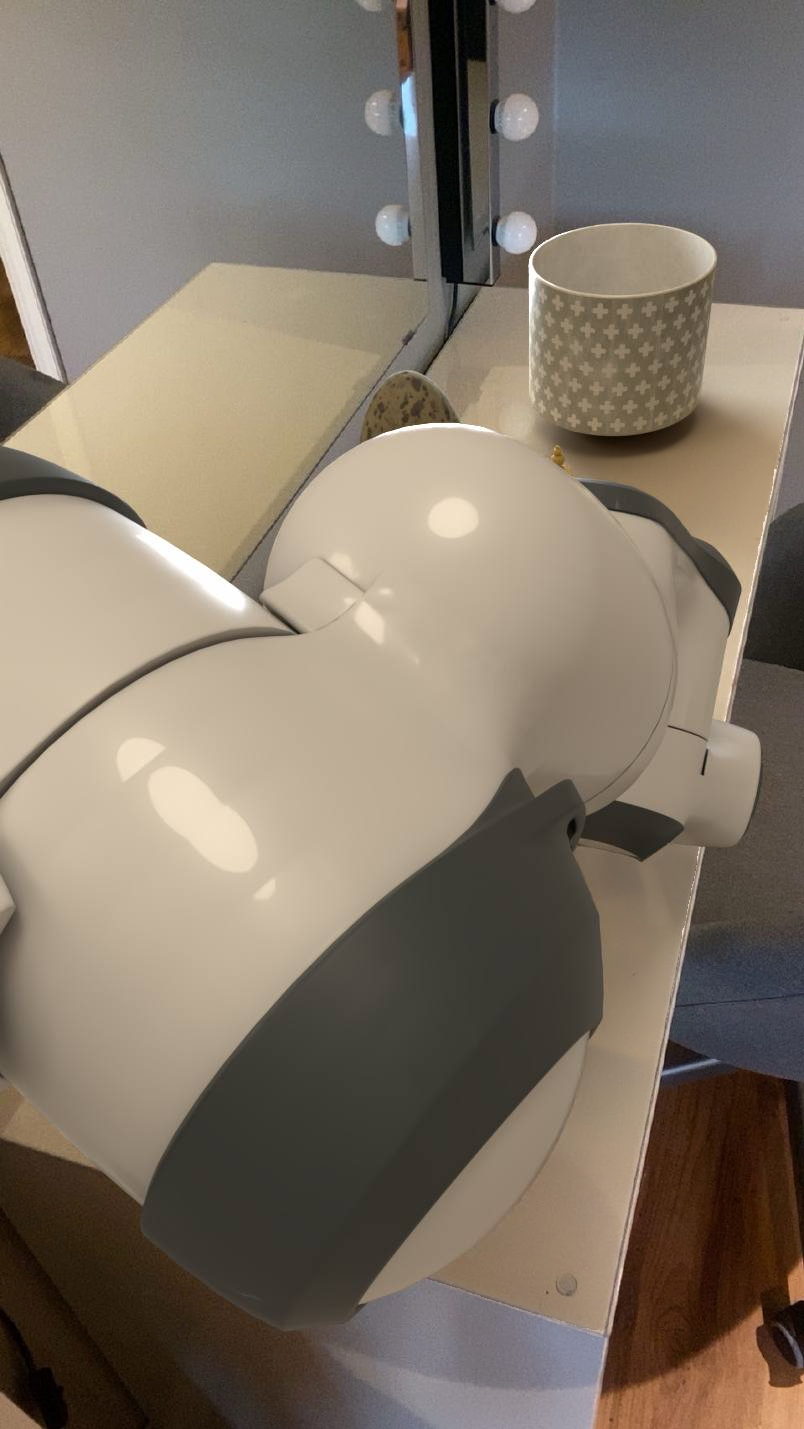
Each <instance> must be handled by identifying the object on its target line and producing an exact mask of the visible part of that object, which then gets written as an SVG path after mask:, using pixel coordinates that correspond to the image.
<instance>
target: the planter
mask: <svg viewBox="0 0 804 1429" xmlns="http://www.w3.org/2000/svg"><path fill="white" fill-rule="evenodd" d="M717 264H718V254H717V251H716V250H715V247H714V246H713V245H712V244H710V242H709V241H707V240H706V239H705V238H703V237H701V236H700V235H697V234H696V233H693V232H691V231H688V230H685V229H681V228H678V227H673V226H668V225H663V224H654V223H646V222H645V223H644V222H643V223H642V222H617V223H616V222H615V223H604V224H595V225H590V226H585V227H579V228H576V229H573V230H570V231H569V230H568V231H566V232H563V233H561V234H558V235H555V236H553V237H551V238H550V239H547V240H545V241H544V242H542V243H541V244H540V245H539V246H538V247H537V248H535V249H534V251H533V252H532V254H531V255H530V258H529V262H528V274H529V275H528V290H529V291H528V298H529V299H528V302H529V303H528V314H529V315H528V323H529V324H528V345H529V346H528V360H529V361H528V365H529V366H528V370H529V372H528V374H529V375H528V382H529V383H528V386H529V387H528V390H529V391H528V393H529V394H528V395H529V401H530V404H531V406H532V408H533V409H534V411H535V412H536V413H537V414H538V415H539V416H540V417H541V418H543V419H544V420H546V421H547V422H548V423H551V424H553V425H554V426H557V427H559V428H562V429H564V430H568V431H571V432H575V433H578V434H585V435H591V436H603V437H623V436H624V437H625V436H635V435H642V434H647V433H651V432H656V431H659V430H662V429H665V428H668V427H670V426H673V425H675V424H677V423H678V422H681V421H682V420H684V419H685V418H687V417H688V416H689V415H691V413H692V412H693V411H694V410H696V407H697V406H698V404H699V402H700V399H701V395H702V394H701V393H702V386H703V378H704V368H705V362H706V353H707V344H708V337H709V330H710V329H709V328H710V320H711V312H712V305H713V304H712V303H713V296H714V288H715V281H716V280H715V279H716V272H717Z"/></svg>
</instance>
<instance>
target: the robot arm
mask: <svg viewBox="0 0 804 1429" xmlns="http://www.w3.org/2000/svg"><path fill="white" fill-rule="evenodd" d="M742 592H743V587H742V583H741V581H740V579H739V578H738V576H737V574H736V572H735V571H734V569H733V567H732V566H731V565H730V563H729V562H728V560H727V559H726V558H725V557H724V555H723V554H722V553H721V552H720V551H719V550H718V549H717V548H716V547H715V546H714V545H712V544H711V543H709V542H707V541H705V540H703V539H700V538H699V537H695V536H694V535H692V534H691V533H690V532H689V531H688V529H687V527H686V526H685V525H684V523H683V522H682V521H681V520H680V518H679V517H678V516H677V515H676V514H675V513H674V512H673V511H672V509H670V508H669V507H668V506H667V505H666V504H664V503H663V502H662V501H661V500H659V499H658V498H657V497H655V496H654V495H652V494H650V493H648V492H646V491H645V490H643V489H641V488H638V487H636V486H633V485H629V484H626V483H621V482H618V481H617V482H616V481H611V480H604V479H597V478H587V477H575V476H573V475H572V476H571V475H570V474H569V473H568V472H566V471H565V470H564V469H562V468H561V467H560V466H558V465H557V464H556V463H554V462H553V461H551V460H550V458H548V457H546V455H544V454H542V453H541V452H539V451H537V450H536V449H534V448H533V447H531V445H528V444H526V443H524V442H522V441H520V440H518V439H517V438H514V437H511V436H510V435H507V434H504V433H501V432H497V431H494V430H492V429H488V428H485V427H483V426H482V427H481V426H478V425H470V424H465V423H464V424H463V423H461V424H458V423H432V424H425V425H417V426H410V427H405V428H401V429H397V430H394V431H390V432H387V433H383V434H381V435H379V436H376V437H374V438H372V439H369V440H367V441H365V442H363V443H361V444H360V443H359V444H358V445H356V446H354V447H353V448H351V449H349V450H347V451H345V452H344V453H343V454H341V455H340V456H339V457H337V458H336V459H335V460H333V461H332V462H331V463H330V464H328V465H327V466H326V467H325V468H323V470H321V472H320V473H318V475H317V476H315V477H314V479H312V481H310V483H309V484H308V485H307V486H306V488H305V489H304V490H303V491H302V493H301V494H300V495H299V496H298V498H297V499H296V500H295V501H294V503H293V504H292V507H290V510H289V511H288V513H287V515H286V516H285V518H284V520H283V522H282V524H281V526H280V527H279V531H278V533H277V535H276V537H275V539H274V541H273V545H272V548H271V551H270V554H269V557H268V561H267V566H266V571H265V576H264V581H263V591H262V592H261V593H260V595H259V597H258V599H259V601H260V602H261V604H262V605H261V604H260V603H258V601H255V600H254V599H253V598H252V597H250V596H249V595H247V594H246V593H245V592H243V591H242V590H240V589H239V588H237V587H236V586H235V585H234V584H232V583H231V582H229V581H227V579H225V578H224V577H223V576H221V575H220V574H218V573H217V572H215V571H214V570H212V569H211V568H209V567H207V565H205V564H203V563H202V562H200V561H198V560H197V559H195V558H194V557H192V556H191V555H189V554H188V553H186V552H184V551H183V550H181V549H179V548H178V547H176V546H175V545H173V544H172V543H171V542H169V541H167V540H165V539H164V538H162V537H160V536H158V535H157V534H155V533H154V532H152V531H150V530H149V528H148V527H147V525H146V524H145V522H144V520H143V519H142V518H141V517H140V515H139V513H137V512H136V510H135V509H134V508H133V507H131V506H130V505H129V504H128V503H127V502H126V501H124V500H123V499H122V498H120V497H119V496H118V495H116V494H115V493H113V492H112V491H109V490H108V489H106V488H103V487H102V486H100V485H99V484H96V483H95V482H93V481H92V480H89V479H88V478H85V477H83V476H82V475H79V474H77V473H75V472H73V471H71V470H69V469H67V468H65V467H63V466H61V465H59V464H56V463H54V462H52V461H49V460H47V459H44V458H42V457H39V456H36V455H33V454H31V453H29V452H26V451H23V450H20V449H15V448H12V447H7V446H4V445H0V1094H2V1092H4V1091H6V1089H7V1088H9V1087H10V1086H12V1087H13V1088H14V1089H15V1090H16V1091H17V1092H18V1094H20V1095H21V1096H22V1097H23V1099H25V1100H26V1101H27V1102H28V1103H29V1104H30V1105H31V1107H32V1108H33V1109H34V1110H35V1111H37V1112H38V1113H39V1114H40V1115H41V1116H42V1117H43V1119H45V1120H46V1121H47V1122H48V1123H49V1125H51V1126H52V1127H53V1128H55V1129H56V1130H57V1132H58V1133H60V1134H61V1136H63V1137H64V1138H65V1139H66V1140H67V1141H68V1142H69V1143H70V1144H71V1145H72V1146H74V1148H76V1149H77V1150H78V1151H79V1152H80V1153H81V1155H83V1156H84V1157H86V1159H87V1160H88V1161H89V1162H90V1163H92V1164H93V1165H94V1167H96V1168H97V1169H99V1170H100V1171H101V1172H102V1173H103V1174H104V1175H105V1176H107V1177H108V1178H109V1179H110V1180H111V1181H112V1182H113V1183H115V1184H116V1185H117V1186H118V1187H119V1188H120V1189H121V1190H122V1191H124V1192H125V1193H126V1194H127V1195H128V1196H130V1197H131V1198H132V1199H133V1200H134V1201H135V1202H136V1203H138V1204H139V1206H141V1212H140V1219H139V1220H140V1222H139V1225H140V1231H141V1234H142V1235H143V1237H145V1238H146V1239H147V1240H148V1241H149V1242H151V1243H152V1244H153V1246H155V1247H156V1248H158V1250H160V1251H161V1252H162V1253H163V1254H165V1255H166V1256H168V1258H169V1259H171V1261H173V1262H174V1263H175V1264H177V1265H178V1266H179V1267H180V1268H182V1269H183V1270H184V1271H185V1272H187V1273H189V1275H191V1276H192V1277H194V1278H195V1279H196V1280H198V1281H199V1282H201V1283H202V1284H203V1285H205V1286H206V1287H207V1288H209V1289H210V1290H211V1291H212V1292H214V1293H216V1295H218V1296H220V1297H221V1298H223V1299H225V1300H226V1301H228V1302H230V1303H231V1304H233V1305H234V1306H236V1307H237V1308H239V1309H240V1310H242V1311H244V1312H245V1313H247V1314H248V1315H250V1316H252V1317H254V1318H256V1319H258V1320H259V1321H262V1322H264V1323H266V1324H268V1325H270V1326H272V1327H274V1328H276V1329H278V1330H281V1331H282V1332H285V1333H286V1332H292V1331H301V1330H308V1329H316V1328H322V1327H323V1328H324V1327H329V1326H336V1325H344V1324H345V1323H348V1322H349V1321H351V1320H352V1319H353V1318H354V1317H355V1316H356V1315H357V1314H359V1313H360V1312H361V1310H363V1309H364V1308H365V1307H366V1306H367V1305H368V1304H369V1302H373V1301H375V1300H378V1299H382V1298H384V1297H387V1296H390V1295H393V1294H396V1293H399V1292H401V1291H404V1290H405V1289H408V1288H409V1287H410V1288H411V1287H412V1286H413V1285H416V1284H418V1283H420V1282H421V1281H424V1280H426V1279H428V1278H430V1277H432V1276H434V1275H436V1274H437V1273H439V1272H440V1271H442V1270H443V1269H445V1268H446V1267H448V1266H450V1265H451V1264H452V1263H454V1262H456V1261H457V1260H459V1259H460V1258H462V1257H463V1256H464V1255H466V1254H467V1253H468V1252H470V1251H471V1250H472V1249H473V1248H475V1246H477V1245H478V1244H479V1243H480V1242H481V1241H482V1240H484V1239H485V1238H486V1237H488V1236H489V1235H490V1234H492V1232H493V1231H494V1230H495V1229H496V1228H497V1227H498V1226H499V1224H501V1223H502V1222H503V1220H504V1219H505V1218H506V1217H507V1216H509V1214H510V1213H511V1212H512V1211H513V1210H514V1209H515V1207H517V1205H519V1203H520V1202H521V1201H522V1199H523V1198H524V1196H525V1195H526V1194H527V1192H528V1191H529V1190H530V1189H531V1187H532V1186H533V1184H534V1183H535V1181H536V1180H537V1178H538V1177H539V1176H540V1174H541V1173H542V1172H543V1170H544V1168H545V1166H546V1164H547V1162H548V1161H549V1159H550V1157H551V1155H552V1154H553V1152H554V1150H555V1148H556V1147H557V1145H558V1144H559V1141H560V1139H561V1136H562V1134H563V1132H564V1129H565V1128H566V1125H567V1122H568V1119H569V1117H570V1116H571V1113H572V1111H573V1108H574V1106H575V1101H576V1099H577V1095H578V1091H579V1088H580V1084H581V1081H582V1079H583V1074H584V1068H585V1064H586V1059H587V1054H588V1047H589V1041H590V1040H591V1038H592V1037H593V1036H594V1035H595V1033H596V1031H597V1030H598V1028H599V1026H600V1025H601V1023H602V1021H603V1019H604V993H605V992H604V989H605V988H604V964H603V962H604V961H603V949H602V934H601V922H600V920H601V918H600V913H599V911H598V908H597V905H596V903H595V901H594V899H593V896H592V894H591V893H592V892H591V890H590V888H589V886H588V883H587V881H586V879H585V876H584V874H583V872H582V869H581V867H580V865H579V863H578V860H577V859H576V856H575V855H574V852H575V850H576V848H577V846H579V847H587V848H592V849H596V850H600V851H606V852H611V853H615V854H619V855H623V856H627V857H630V858H632V859H634V860H636V861H638V862H640V863H643V862H644V861H646V860H647V859H649V858H651V857H652V856H654V854H656V853H657V852H659V851H661V850H662V849H663V848H664V847H666V846H668V845H678V846H687V847H699V848H700V847H701V848H720V849H721V848H723V849H724V848H725V849H726V848H732V847H734V846H736V845H737V844H738V843H739V842H740V841H741V840H742V838H743V837H744V836H745V835H746V834H747V832H748V831H749V828H750V826H751V823H752V820H753V818H754V816H755V813H756V810H757V807H758V803H759V799H760V795H761V789H762V784H763V777H764V776H763V775H764V762H763V761H764V760H763V757H764V756H763V755H764V752H763V748H762V743H761V741H760V738H759V736H758V735H757V734H756V733H755V732H754V731H751V730H749V729H748V728H745V727H742V726H739V725H736V724H733V723H730V722H727V721H724V720H720V719H717V718H714V717H713V716H714V712H715V707H716V701H717V696H718V691H719V685H720V680H721V675H722V669H723V664H724V659H725V654H726V649H727V644H728V638H729V637H730V636H731V633H732V629H733V626H734V622H735V617H736V615H737V610H738V606H739V602H740V600H741V595H742Z"/></svg>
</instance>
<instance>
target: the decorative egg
mask: <svg viewBox="0 0 804 1429" xmlns="http://www.w3.org/2000/svg"><path fill="white" fill-rule="evenodd" d="M460 420H461V419H460V418H459V415H458V413H457V411H456V408H455V407H454V405H453V404H452V402H451V401H450V399H449V397H448V396H447V395H446V394H445V393H444V391H443V390H442V389H441V388H440V386H438V385H437V384H436V383H435V382H434V381H433V380H431V379H430V378H429V377H427V376H425V375H424V374H422V373H420V372H418V371H415V370H410V369H405V370H399V371H396V372H394V373H392V374H391V375H389V376H388V377H387V378H385V380H383V381H382V382H381V384H380V385H379V386H378V388H377V389H376V390H375V392H374V393H373V396H372V397H371V398H370V401H369V403H368V406H367V408H366V411H365V414H364V417H363V420H362V425H361V429H360V436H359V437H360V438H359V444H361V443H363V442H365V441H367V440H369V439H372V438H374V437H376V436H379V435H381V434H383V433H387V432H390V431H394V430H397V429H401V428H405V427H410V426H417V425H425V424H432V423H458V424H462V423H461V421H460Z"/></svg>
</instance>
